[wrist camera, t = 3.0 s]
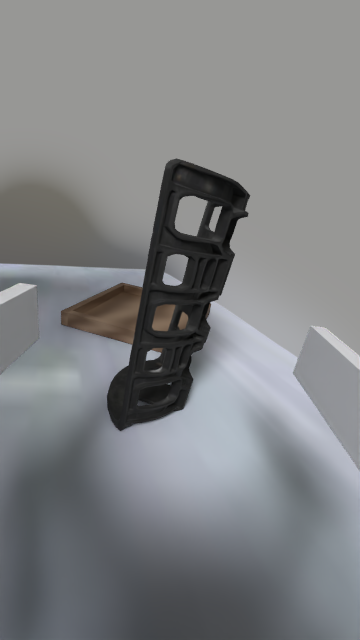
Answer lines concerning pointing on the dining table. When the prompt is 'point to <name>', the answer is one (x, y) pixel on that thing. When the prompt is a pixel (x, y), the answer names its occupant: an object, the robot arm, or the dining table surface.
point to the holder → (177, 294)
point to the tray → (117, 314)
